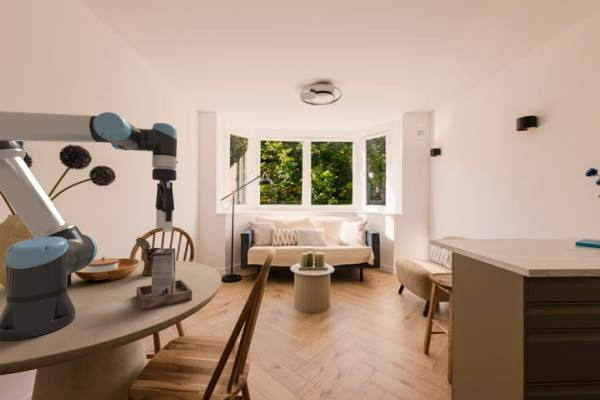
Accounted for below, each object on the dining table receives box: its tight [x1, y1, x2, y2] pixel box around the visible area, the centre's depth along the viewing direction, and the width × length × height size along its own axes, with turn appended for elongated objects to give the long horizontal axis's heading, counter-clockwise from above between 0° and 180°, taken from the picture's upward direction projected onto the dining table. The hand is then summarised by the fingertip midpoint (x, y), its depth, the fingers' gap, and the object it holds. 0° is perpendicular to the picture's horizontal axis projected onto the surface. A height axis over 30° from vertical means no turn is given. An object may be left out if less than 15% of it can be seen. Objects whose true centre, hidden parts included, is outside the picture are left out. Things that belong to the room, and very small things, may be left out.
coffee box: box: [151, 247, 176, 298], centre depth 90 cm, size 9×6×16 cm
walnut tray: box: [136, 279, 193, 311], centre depth 90 cm, size 15×15×3 cm
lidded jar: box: [86, 256, 119, 273], centre depth 110 cm, size 11×11×9 cm
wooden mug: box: [135, 237, 162, 277], centre depth 117 cm, size 9×14×18 cm, turn 169°
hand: (163, 229), depth 90 cm, fingers open, 13 cm apart
